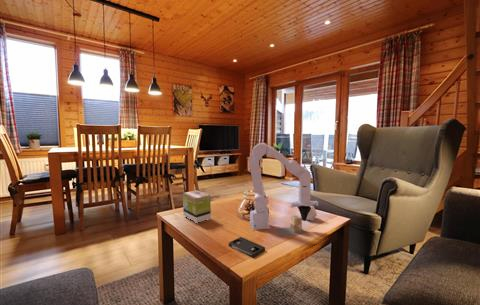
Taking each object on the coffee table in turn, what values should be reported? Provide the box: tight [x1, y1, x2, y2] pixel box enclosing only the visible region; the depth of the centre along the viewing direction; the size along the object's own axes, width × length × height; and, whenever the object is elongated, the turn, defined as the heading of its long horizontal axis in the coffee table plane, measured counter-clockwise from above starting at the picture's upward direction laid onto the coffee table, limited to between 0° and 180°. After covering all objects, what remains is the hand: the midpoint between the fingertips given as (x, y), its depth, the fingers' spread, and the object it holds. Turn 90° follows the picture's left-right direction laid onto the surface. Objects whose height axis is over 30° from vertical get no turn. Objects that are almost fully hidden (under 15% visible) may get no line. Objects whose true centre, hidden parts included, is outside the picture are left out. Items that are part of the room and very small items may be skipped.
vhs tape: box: [228, 236, 266, 259], centre depth 99 cm, size 14×8×2 cm, turn 46°
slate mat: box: [273, 226, 308, 238], centre depth 115 cm, size 14×9×1 cm, turn 102°
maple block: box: [289, 214, 303, 233], centre depth 115 cm, size 4×4×7 cm
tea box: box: [182, 189, 212, 224], centre depth 133 cm, size 15×10×15 cm, turn 42°
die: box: [306, 205, 318, 222], centre depth 130 cm, size 8×9×10 cm
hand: (303, 220), depth 116 cm, fingers closed
